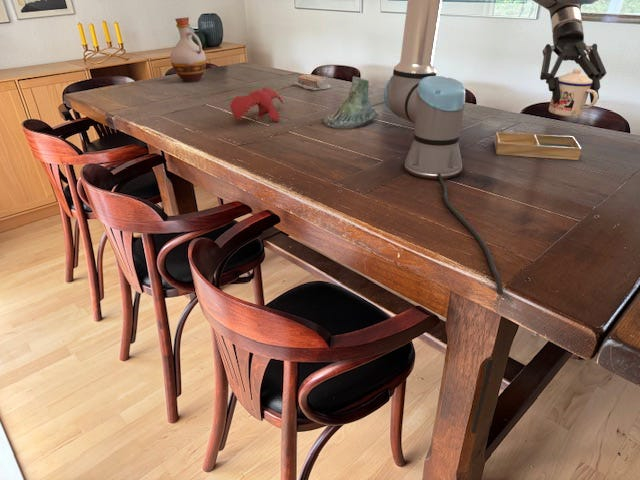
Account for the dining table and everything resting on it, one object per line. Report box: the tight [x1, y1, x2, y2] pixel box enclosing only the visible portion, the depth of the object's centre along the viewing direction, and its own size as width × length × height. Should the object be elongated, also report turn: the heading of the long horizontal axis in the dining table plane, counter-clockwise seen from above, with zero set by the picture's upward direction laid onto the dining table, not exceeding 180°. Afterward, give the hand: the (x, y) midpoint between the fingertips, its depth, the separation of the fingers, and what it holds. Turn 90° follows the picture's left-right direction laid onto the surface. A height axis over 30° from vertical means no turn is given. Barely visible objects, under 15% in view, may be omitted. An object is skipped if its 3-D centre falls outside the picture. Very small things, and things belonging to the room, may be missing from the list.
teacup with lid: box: [548, 68, 599, 118], centre depth 123 cm, size 12×9×12 cm
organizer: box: [494, 131, 583, 161], centre depth 134 cm, size 11×22×3 cm, turn 75°
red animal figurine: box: [229, 87, 284, 123], centre depth 168 cm, size 28×9×15 cm
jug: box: [169, 17, 207, 83], centre depth 230 cm, size 20×18×30 cm
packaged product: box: [293, 73, 331, 91], centre depth 218 cm, size 18×5×10 cm
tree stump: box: [322, 76, 379, 130], centre depth 164 cm, size 18×20×18 cm
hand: (575, 100), depth 122 cm, fingers closed on teacup with lid, 9 cm apart
